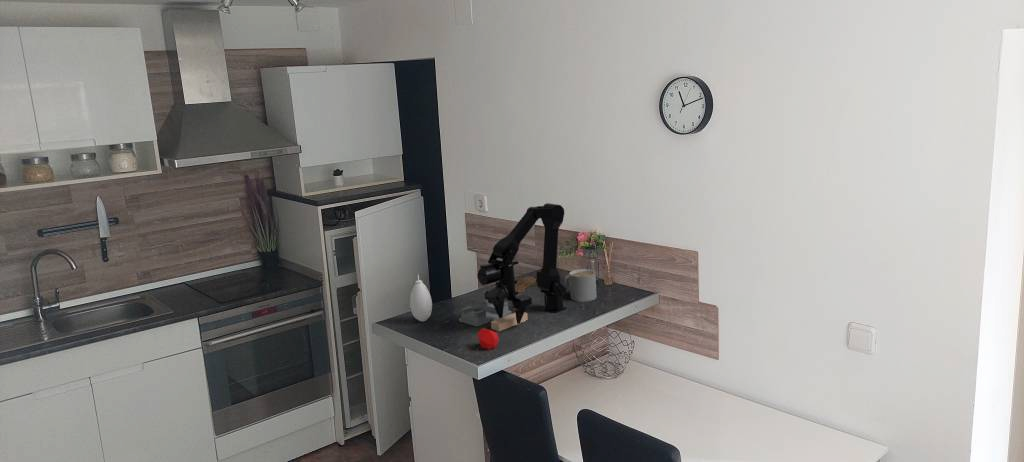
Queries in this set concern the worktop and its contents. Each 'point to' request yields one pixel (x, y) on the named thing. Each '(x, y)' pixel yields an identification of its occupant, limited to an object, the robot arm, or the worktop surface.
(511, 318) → the clay bar
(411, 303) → the white air blower bulb
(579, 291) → the coffee mug
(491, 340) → the apple
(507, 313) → the grey cradle stand
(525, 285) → the wooden fragment
